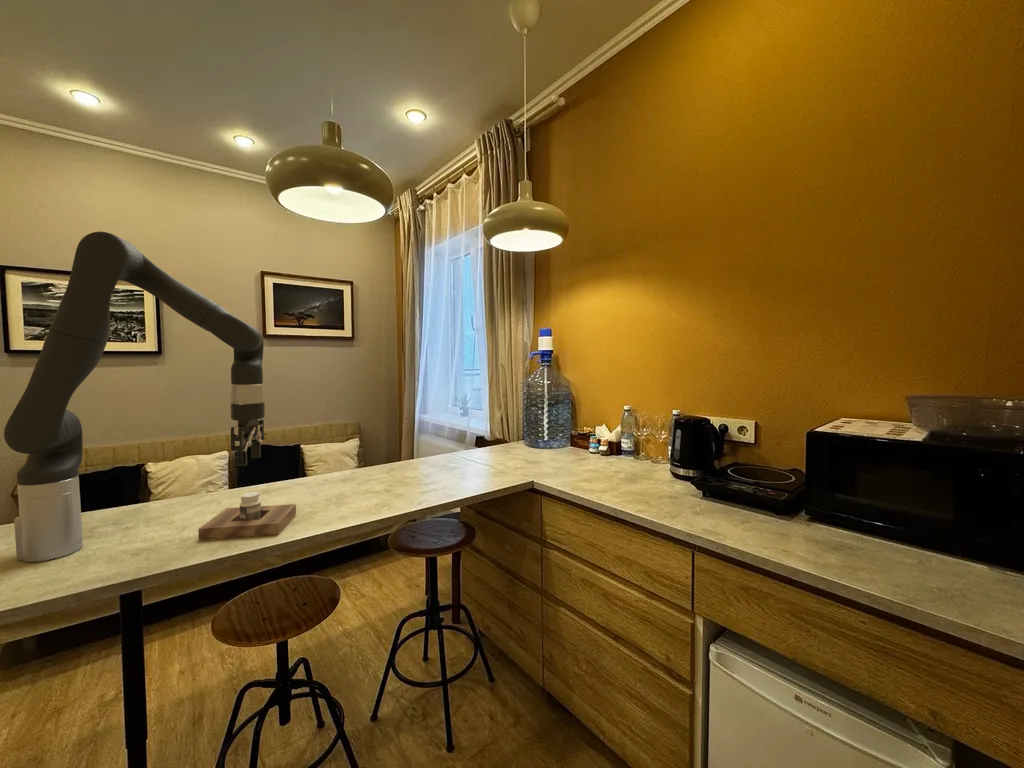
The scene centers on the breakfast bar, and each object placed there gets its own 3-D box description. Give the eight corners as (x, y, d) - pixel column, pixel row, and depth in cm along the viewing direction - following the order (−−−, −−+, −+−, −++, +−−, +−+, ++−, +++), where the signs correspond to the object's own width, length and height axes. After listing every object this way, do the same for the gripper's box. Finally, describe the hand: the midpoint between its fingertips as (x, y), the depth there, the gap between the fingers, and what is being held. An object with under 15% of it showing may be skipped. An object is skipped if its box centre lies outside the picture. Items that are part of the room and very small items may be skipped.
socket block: (198, 540, 100) (198, 528, 100) (226, 518, 113) (226, 508, 113) (278, 534, 103) (278, 523, 103) (296, 514, 117) (295, 504, 117)
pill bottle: (238, 524, 108) (237, 494, 108) (258, 520, 112) (257, 490, 111) (242, 530, 105) (241, 498, 104) (263, 525, 108) (262, 494, 108)
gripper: (244, 398, 113) (245, 456, 114) (217, 404, 99) (219, 469, 100) (273, 398, 114) (274, 455, 115) (251, 403, 100) (253, 468, 101)
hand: (249, 461), depth 107 cm, fingers open, 8 cm apart
